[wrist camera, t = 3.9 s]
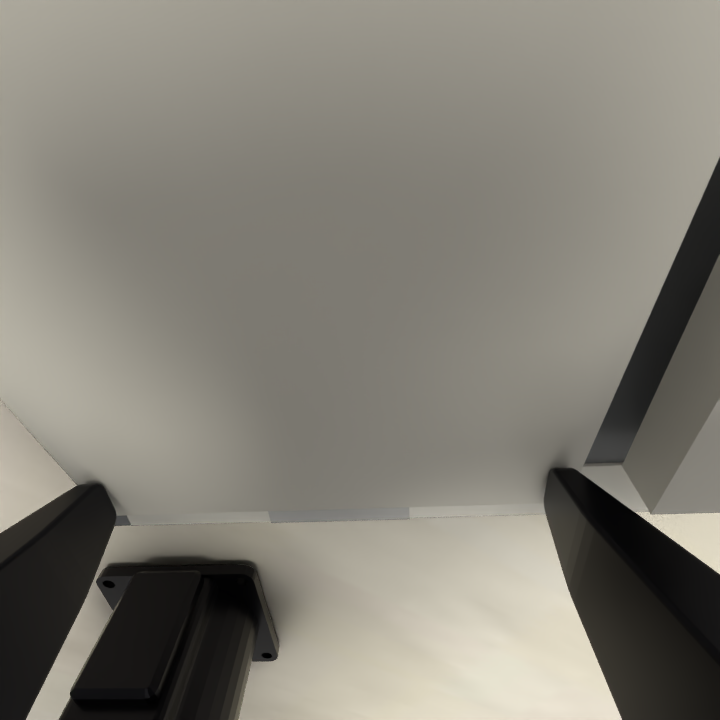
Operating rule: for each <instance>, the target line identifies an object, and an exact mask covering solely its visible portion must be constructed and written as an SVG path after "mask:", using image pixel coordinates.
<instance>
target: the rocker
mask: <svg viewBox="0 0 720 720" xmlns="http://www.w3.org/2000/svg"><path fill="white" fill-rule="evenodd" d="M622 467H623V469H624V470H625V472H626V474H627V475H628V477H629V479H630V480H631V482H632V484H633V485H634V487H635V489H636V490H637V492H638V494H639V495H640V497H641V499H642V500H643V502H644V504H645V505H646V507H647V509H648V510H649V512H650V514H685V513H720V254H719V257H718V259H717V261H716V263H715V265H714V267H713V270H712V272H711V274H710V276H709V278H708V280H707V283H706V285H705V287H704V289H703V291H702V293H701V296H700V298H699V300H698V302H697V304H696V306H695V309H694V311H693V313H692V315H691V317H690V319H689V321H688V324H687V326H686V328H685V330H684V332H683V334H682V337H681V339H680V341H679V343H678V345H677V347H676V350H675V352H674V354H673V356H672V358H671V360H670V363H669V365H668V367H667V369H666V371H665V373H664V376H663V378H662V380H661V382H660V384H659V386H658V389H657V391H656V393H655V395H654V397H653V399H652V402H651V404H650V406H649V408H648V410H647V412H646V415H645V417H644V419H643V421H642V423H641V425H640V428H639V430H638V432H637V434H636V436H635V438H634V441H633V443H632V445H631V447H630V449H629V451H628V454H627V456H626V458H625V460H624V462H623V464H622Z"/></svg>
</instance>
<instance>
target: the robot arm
mask: <svg viewBox="0 0 720 720" xmlns="http://www.w3.org/2000/svg"><path fill="white" fill-rule="evenodd" d="M544 509H545V513H546V516H547V520H548V523H549V527H550V530H551V533H552V537H553V540H554V543H555V547H556V550H557V554H558V557H559V560H560V564H561V567H562V570H563V574H564V577H565V580H566V583H567V586H568V589H569V592H570V595H571V597H572V600H573V602H574V605H575V607H576V610H577V612H578V614H579V617H580V619H581V622H582V624H583V626H584V629H585V631H586V634H587V636H588V638H589V641H590V643H591V646H592V648H593V651H594V653H595V655H596V658H597V660H598V663H599V665H600V667H601V670H602V672H603V675H604V677H605V679H606V682H607V684H608V687H609V689H610V691H611V694H612V696H613V699H614V701H615V703H616V706H617V708H618V711H619V713H620V715H621V718H622V720H720V574H718V573H717V572H716V571H714V570H713V569H712V568H710V567H709V566H707V565H706V564H705V563H703V562H702V561H701V560H699V559H698V558H697V557H695V556H694V555H692V554H691V553H690V552H688V551H687V550H686V549H684V548H683V547H681V546H680V545H679V544H677V543H676V542H675V541H673V540H672V539H671V538H669V537H668V536H666V535H665V534H664V533H662V532H661V531H660V530H658V529H657V528H655V527H654V526H653V525H651V524H650V523H649V522H647V521H646V520H645V519H643V518H642V517H640V516H639V515H638V514H636V513H635V512H634V511H632V510H631V509H629V508H628V507H627V506H625V505H624V504H623V503H621V502H620V501H618V500H617V499H616V498H614V497H613V496H612V495H610V494H609V493H608V492H606V491H605V490H603V489H602V488H601V487H599V486H598V485H597V484H595V483H594V482H592V481H591V480H590V479H588V478H587V477H586V476H584V475H583V474H582V473H580V472H579V471H577V470H576V469H574V468H570V467H566V468H552V469H551V470H550V471H549V473H548V478H547V483H546V489H545V494H544ZM116 515H117V514H116V510H115V508H114V506H113V504H112V502H111V500H110V498H109V496H108V494H107V491H106V489H105V488H104V486H102V485H101V484H98V483H93V484H80V485H77V486H75V487H74V488H72V489H71V490H69V491H67V492H66V493H64V494H63V495H61V496H59V497H58V498H56V499H55V500H53V501H51V502H50V503H48V504H47V505H45V506H43V507H42V508H40V509H39V510H37V511H35V512H34V513H32V514H31V515H29V516H27V517H26V518H24V519H23V520H21V521H19V522H18V523H16V524H15V525H13V526H11V527H10V528H8V529H7V530H5V531H3V532H2V533H0V720H26V718H27V716H28V714H29V712H30V710H31V708H32V706H33V704H34V702H35V700H36V698H37V696H38V694H39V692H40V690H41V688H42V686H43V684H44V682H45V680H46V678H47V676H48V674H49V672H50V670H51V668H52V666H53V664H54V662H55V660H56V658H57V656H58V654H59V651H60V649H61V647H62V645H63V643H64V641H65V639H66V637H67V635H68V633H69V631H70V629H71V627H72V625H73V623H74V621H75V619H76V617H77V615H78V613H79V611H80V609H81V607H82V605H83V603H84V601H85V599H86V596H87V594H88V592H89V589H90V587H91V585H92V582H93V579H94V577H95V574H96V572H97V569H98V567H99V564H100V562H101V559H102V556H103V554H104V551H105V549H106V546H107V544H108V541H109V538H110V536H111V533H112V531H113V528H114V526H115V523H116ZM96 583H97V585H98V587H99V588H100V590H101V592H102V593H103V595H104V597H105V598H106V600H107V602H108V603H109V605H110V606H111V608H112V610H113V613H112V614H111V616H110V618H109V620H108V622H107V624H106V625H105V627H104V629H103V631H102V633H101V635H100V637H99V638H98V640H97V642H96V644H95V646H94V648H93V649H92V651H91V653H90V655H89V657H88V659H87V661H86V662H85V664H84V666H83V668H82V670H81V672H80V673H79V675H78V677H77V679H76V681H75V683H74V685H73V686H72V689H71V692H70V696H71V697H70V699H69V701H68V703H67V705H66V707H65V708H64V710H63V712H62V714H61V716H60V718H59V720H238V719H239V714H240V710H241V705H242V701H243V697H244V692H245V688H246V684H247V679H248V675H249V671H250V666H251V662H252V661H274V660H276V659H277V657H278V652H279V644H278V641H277V637H276V634H275V631H274V627H273V624H272V621H271V618H270V614H269V611H268V608H267V605H266V601H265V598H264V595H263V592H262V588H261V585H260V582H259V579H258V575H257V572H256V571H255V569H254V568H252V567H250V566H248V565H201V566H154V567H109V568H105V569H103V571H102V572H101V574H100V575H99V577H98V579H97V581H96Z"/></svg>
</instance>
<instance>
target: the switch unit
mask: <svg viewBox="0 0 720 720" xmlns="http://www.w3.org/2000/svg"><path fill="white" fill-rule="evenodd" d="M719 254H720V157H719V160H718V162H717V164H716V166H715V169H714V171H713V173H712V175H711V178H710V180H709V182H708V184H707V187H706V189H705V191H704V194H703V196H702V198H701V200H700V203H699V205H698V207H697V209H696V212H695V214H694V216H693V218H692V221H691V223H690V225H689V227H688V230H687V232H686V234H685V237H684V239H683V241H682V243H681V246H680V248H679V250H678V252H677V255H676V257H675V259H674V261H673V264H672V266H671V268H670V270H669V273H668V275H667V277H666V280H665V282H664V284H663V286H662V289H661V291H660V293H659V295H658V298H657V300H656V302H655V304H654V307H653V309H652V311H651V314H650V316H649V318H648V320H647V323H646V325H645V327H644V329H643V332H642V334H641V336H640V338H639V341H638V343H637V345H636V347H635V350H634V352H633V354H632V357H631V359H630V361H629V363H628V366H627V368H626V370H625V372H624V375H623V377H622V379H621V381H620V384H619V386H618V388H617V391H616V393H615V395H614V397H613V400H612V402H611V404H610V406H609V409H608V411H607V413H606V415H605V418H604V420H603V422H602V424H601V427H600V429H599V431H598V434H597V436H596V438H595V440H594V443H593V445H592V447H591V449H590V452H589V454H588V456H587V458H586V461H585V463H584V465H583V468H582V470H581V472H580V473H582V474H583V475H584V476H586V477H587V478H588V479H590V480H591V481H592V482H594V483H595V484H597V485H598V486H599V487H601V488H602V489H603V490H605V491H606V492H608V493H609V494H610V495H612V496H613V497H614V498H616V499H617V500H618V501H620V502H621V503H623V504H624V505H625V506H627V507H628V508H629V509H631V510H632V511H634V512H649V510H648V509H647V507H646V505H645V504H644V502H643V500H642V499H641V497H640V495H639V494H638V492H637V490H636V489H635V487H634V485H633V484H632V482H631V480H630V479H629V477H628V475H627V474H626V472H625V470H624V469H623V467H622V464H623V462H624V460H625V458H626V456H627V454H628V451H629V449H630V447H631V445H632V443H633V441H634V438H635V436H636V434H637V432H638V430H639V428H640V425H641V423H642V421H643V419H644V417H645V415H646V412H647V410H648V408H649V406H650V404H651V402H652V399H653V397H654V395H655V393H656V391H657V389H658V386H659V384H660V382H661V380H662V378H663V376H664V373H665V371H666V369H667V367H668V365H669V363H670V360H671V358H672V356H673V354H674V352H675V350H676V347H677V345H678V343H679V341H680V339H681V337H682V334H683V332H684V330H685V328H686V326H687V324H688V321H689V319H690V317H691V315H692V313H693V311H694V309H695V306H696V304H697V302H698V300H699V298H700V296H701V293H702V291H703V289H704V287H705V285H706V283H707V280H708V278H709V276H710V274H711V272H712V270H713V267H714V265H715V263H716V261H717V259H718V257H719ZM541 514H546V513H545V509H544V503H540V504H506V505H471V506H436V507H402V508H367V509H333V510H298V511H264V512H229V513H195V514H160V515H125V516H116V523H115V526H122V525H132V526H139V525H175V524H212V523H248V522H271V523H283V522H320V521H357V520H394V519H410V518H431V517H468V516H504V515H541Z"/></svg>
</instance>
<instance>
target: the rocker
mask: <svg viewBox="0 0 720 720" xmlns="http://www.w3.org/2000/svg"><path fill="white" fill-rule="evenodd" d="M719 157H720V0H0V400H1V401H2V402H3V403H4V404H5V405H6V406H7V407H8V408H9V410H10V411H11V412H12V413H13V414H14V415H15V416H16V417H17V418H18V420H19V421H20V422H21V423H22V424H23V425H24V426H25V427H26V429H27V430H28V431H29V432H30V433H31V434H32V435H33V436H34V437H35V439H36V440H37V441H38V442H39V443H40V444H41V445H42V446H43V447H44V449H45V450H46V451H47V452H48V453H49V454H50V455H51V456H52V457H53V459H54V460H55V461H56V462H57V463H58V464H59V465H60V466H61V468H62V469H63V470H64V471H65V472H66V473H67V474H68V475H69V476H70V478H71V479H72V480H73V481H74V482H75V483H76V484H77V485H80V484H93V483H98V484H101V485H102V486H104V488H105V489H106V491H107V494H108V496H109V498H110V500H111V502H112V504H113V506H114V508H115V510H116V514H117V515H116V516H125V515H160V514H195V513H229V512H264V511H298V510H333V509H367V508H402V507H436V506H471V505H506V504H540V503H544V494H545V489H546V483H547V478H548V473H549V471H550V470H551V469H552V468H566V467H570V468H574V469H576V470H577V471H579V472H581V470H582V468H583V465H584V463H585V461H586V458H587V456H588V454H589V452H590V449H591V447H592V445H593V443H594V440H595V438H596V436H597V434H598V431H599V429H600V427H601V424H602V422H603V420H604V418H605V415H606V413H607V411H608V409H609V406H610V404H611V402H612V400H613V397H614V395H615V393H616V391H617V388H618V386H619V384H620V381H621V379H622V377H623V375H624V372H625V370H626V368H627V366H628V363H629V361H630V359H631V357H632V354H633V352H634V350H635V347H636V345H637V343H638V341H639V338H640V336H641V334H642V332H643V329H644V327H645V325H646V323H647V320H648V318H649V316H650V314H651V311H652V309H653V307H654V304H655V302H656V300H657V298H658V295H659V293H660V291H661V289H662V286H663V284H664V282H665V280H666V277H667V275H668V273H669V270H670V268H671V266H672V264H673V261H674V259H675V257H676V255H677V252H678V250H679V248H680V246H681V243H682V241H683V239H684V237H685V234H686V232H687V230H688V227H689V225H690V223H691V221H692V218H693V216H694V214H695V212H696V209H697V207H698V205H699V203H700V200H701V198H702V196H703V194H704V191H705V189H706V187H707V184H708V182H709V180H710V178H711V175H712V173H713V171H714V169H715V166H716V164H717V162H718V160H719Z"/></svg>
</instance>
